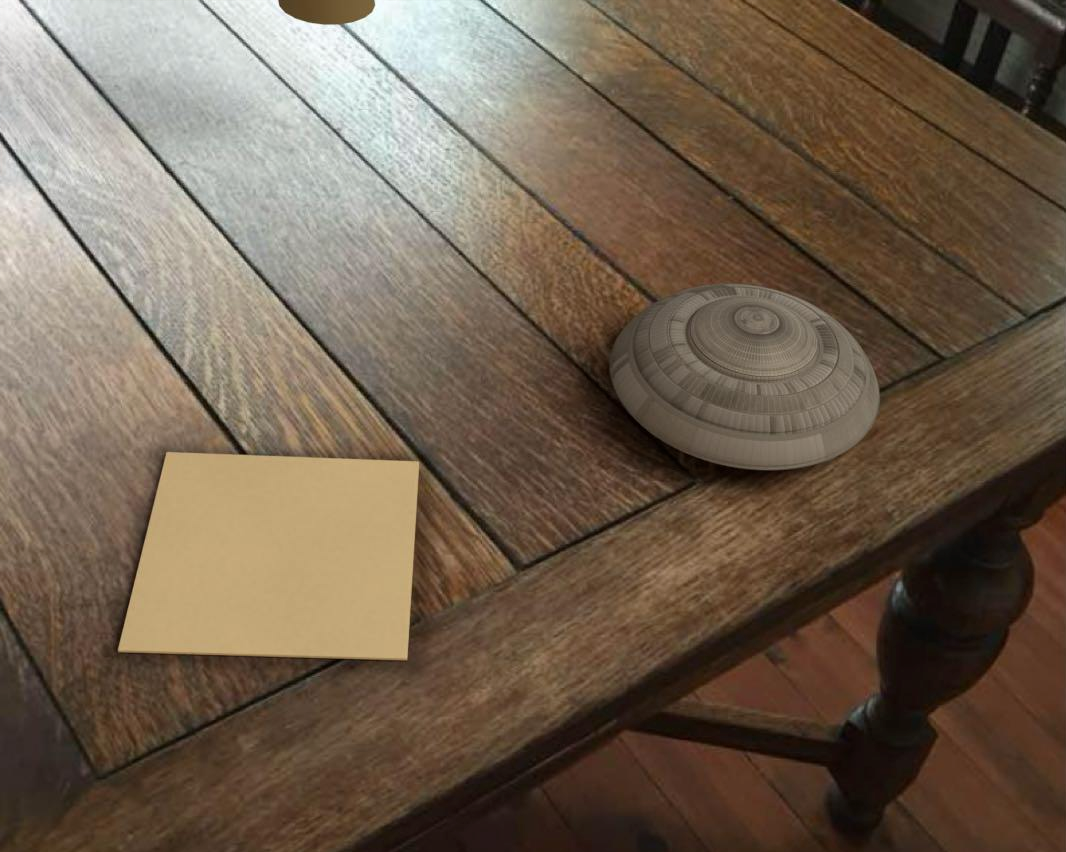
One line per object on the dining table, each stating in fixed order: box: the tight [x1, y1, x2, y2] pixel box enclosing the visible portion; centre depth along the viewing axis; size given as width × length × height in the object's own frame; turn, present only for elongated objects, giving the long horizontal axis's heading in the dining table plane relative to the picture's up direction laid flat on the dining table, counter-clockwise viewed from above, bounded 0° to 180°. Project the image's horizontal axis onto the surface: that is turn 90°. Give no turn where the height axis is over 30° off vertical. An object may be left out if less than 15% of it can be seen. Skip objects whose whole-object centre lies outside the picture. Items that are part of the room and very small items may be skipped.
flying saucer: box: [609, 283, 881, 471], centre depth 74 cm, size 15×15×6 cm
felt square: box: [117, 451, 420, 661], centre depth 66 cm, size 13×13×1 cm
